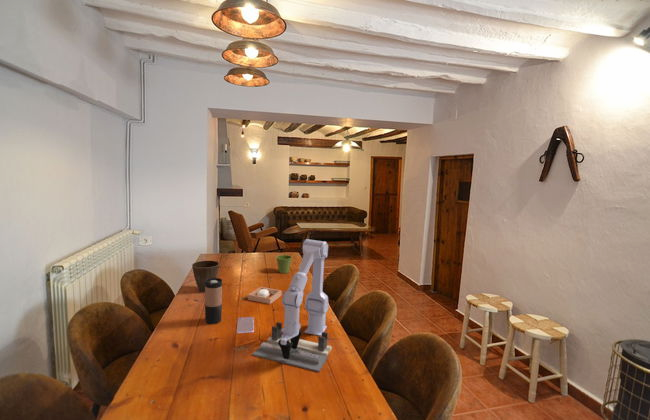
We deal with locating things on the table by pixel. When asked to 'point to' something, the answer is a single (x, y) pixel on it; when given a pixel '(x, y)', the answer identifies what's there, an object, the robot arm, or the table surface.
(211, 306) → the travel mug
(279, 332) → the hook stand
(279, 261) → the plant pot
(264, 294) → the garlic
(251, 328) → the mobile phone
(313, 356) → the rail
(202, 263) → the plant pot
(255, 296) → the garlic dish
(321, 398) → the table surface
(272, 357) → the mat
